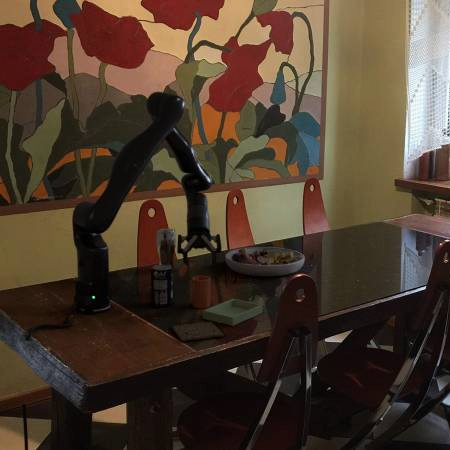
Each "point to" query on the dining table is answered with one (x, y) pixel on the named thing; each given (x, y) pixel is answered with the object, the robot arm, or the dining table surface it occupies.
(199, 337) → the speckled square tile
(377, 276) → the dining table surface
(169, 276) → the beverage can
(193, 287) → the cup
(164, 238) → the beer glass
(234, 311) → the tray
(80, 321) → the dining table surface
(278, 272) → the bowl
